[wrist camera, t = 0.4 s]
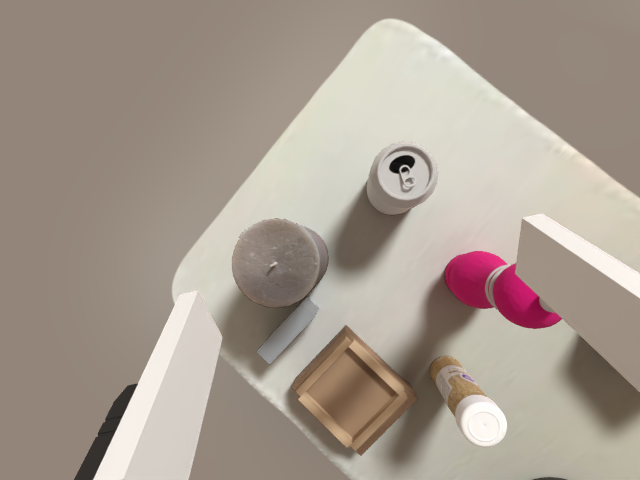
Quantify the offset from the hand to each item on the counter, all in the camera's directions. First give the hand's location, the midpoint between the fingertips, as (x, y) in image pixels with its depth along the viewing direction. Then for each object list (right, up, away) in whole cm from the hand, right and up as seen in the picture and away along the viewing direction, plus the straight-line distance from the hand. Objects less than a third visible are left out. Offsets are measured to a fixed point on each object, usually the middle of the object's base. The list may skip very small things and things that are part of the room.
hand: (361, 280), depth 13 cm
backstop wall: (-6, -11, +34) cm, 36 cm away
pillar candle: (-5, -1, +34) cm, 35 cm away
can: (+9, +9, +33) cm, 35 cm away
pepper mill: (+19, -3, +32) cm, 37 cm away
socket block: (+3, -19, +33) cm, 38 cm away
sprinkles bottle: (+16, -17, +32) cm, 40 cm away
